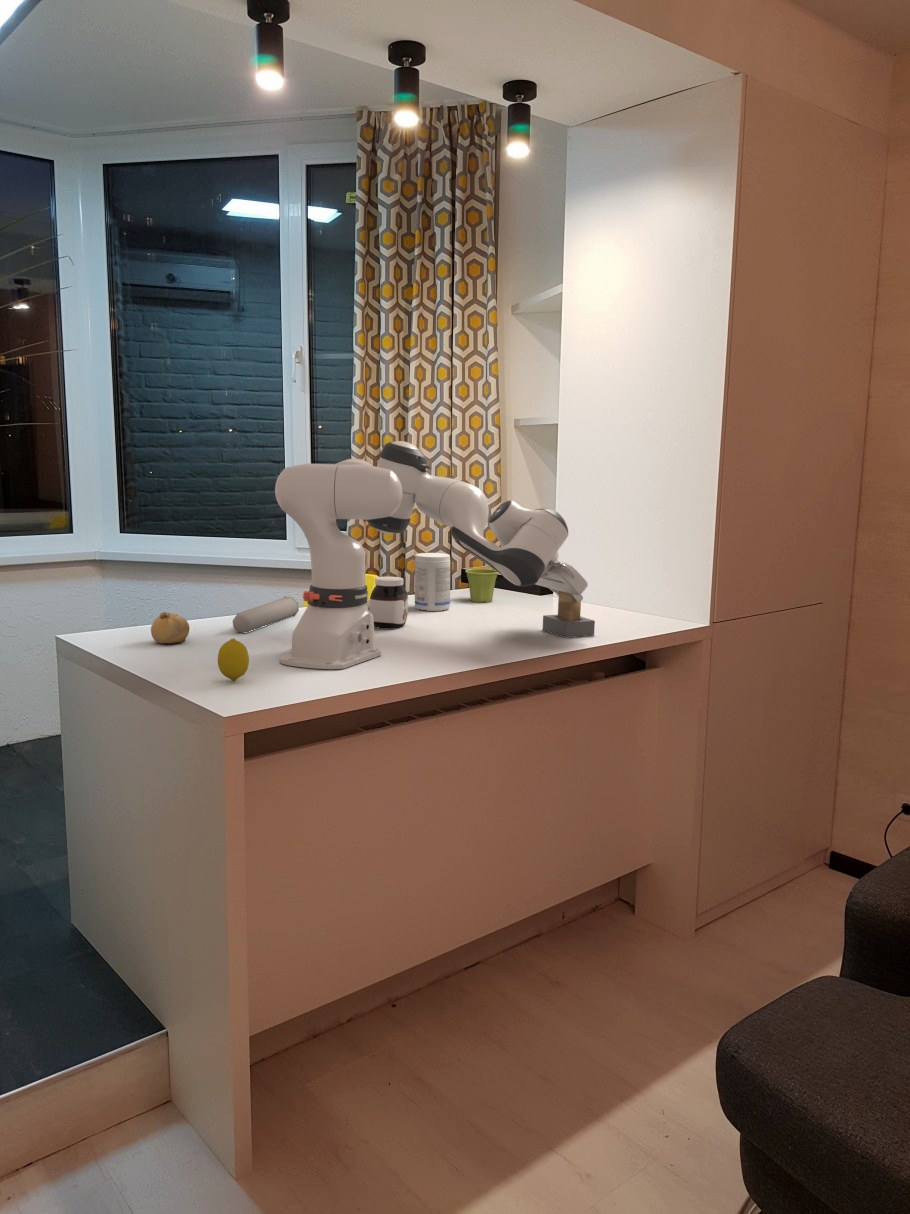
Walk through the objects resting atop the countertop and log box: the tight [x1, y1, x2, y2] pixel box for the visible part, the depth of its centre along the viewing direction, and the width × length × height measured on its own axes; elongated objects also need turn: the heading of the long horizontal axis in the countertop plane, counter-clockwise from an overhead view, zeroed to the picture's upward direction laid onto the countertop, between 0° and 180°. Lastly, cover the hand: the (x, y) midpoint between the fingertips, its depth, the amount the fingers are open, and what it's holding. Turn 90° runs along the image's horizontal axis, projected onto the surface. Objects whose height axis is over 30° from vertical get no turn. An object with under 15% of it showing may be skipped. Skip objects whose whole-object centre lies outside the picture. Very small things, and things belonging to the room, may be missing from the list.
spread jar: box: [366, 576, 409, 629], centre depth 222 cm, size 12×11×12 cm
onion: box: [150, 611, 190, 644], centre depth 197 cm, size 8×8×7 cm
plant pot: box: [465, 568, 500, 603], centre depth 260 cm, size 9×9×9 cm
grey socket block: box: [542, 613, 596, 638], centre depth 219 cm, size 8×10×4 cm
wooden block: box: [557, 591, 582, 621], centre depth 218 cm, size 3×5×10 cm, turn 28°
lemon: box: [217, 638, 250, 682], centre depth 166 cm, size 6×6×8 cm
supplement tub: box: [414, 552, 451, 612], centre depth 245 cm, size 10×10×15 cm
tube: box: [232, 596, 300, 633], centre depth 219 cm, size 5×5×25 cm
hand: (571, 598), depth 218 cm, fingers open, 5 cm apart
